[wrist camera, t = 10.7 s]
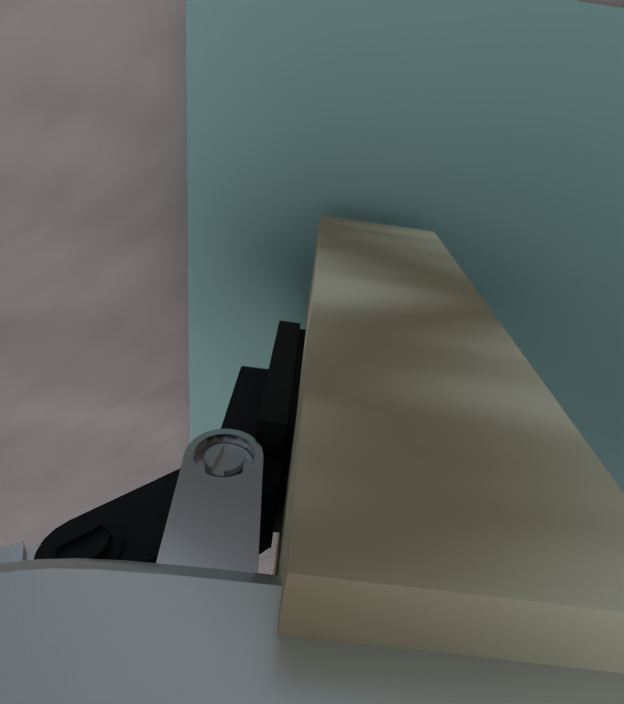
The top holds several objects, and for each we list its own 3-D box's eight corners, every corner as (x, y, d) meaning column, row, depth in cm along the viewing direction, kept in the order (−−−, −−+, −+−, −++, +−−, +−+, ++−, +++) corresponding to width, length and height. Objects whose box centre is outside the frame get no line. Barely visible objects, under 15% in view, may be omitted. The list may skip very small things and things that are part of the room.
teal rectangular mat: (1017, 76, 11) (1045, 76, 11) (654, 536, 20) (661, 546, 20) (190, -57, 11) (184, -63, 10) (192, 479, 20) (189, 488, 19)
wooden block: (434, 231, 12) (717, 623, 3) (378, 435, 15) (440, 884, 7) (320, 215, 12) (288, 572, 3) (291, 423, 15) (237, 864, 7)
